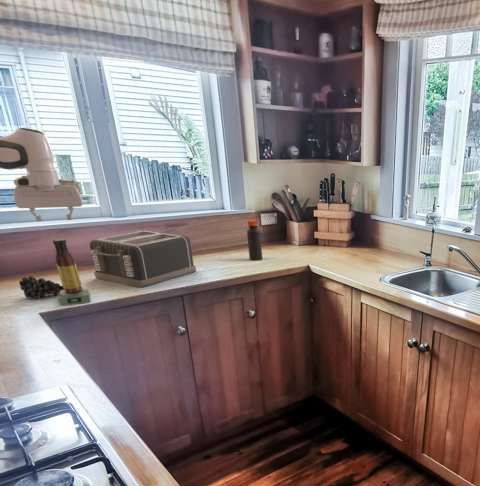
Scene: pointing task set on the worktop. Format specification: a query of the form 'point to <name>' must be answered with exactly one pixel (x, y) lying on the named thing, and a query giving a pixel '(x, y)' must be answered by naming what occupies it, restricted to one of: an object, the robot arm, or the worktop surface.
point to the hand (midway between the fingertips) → (54, 220)
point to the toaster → (142, 258)
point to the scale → (75, 299)
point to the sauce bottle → (66, 267)
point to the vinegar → (254, 241)
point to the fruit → (39, 287)
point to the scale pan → (64, 293)
